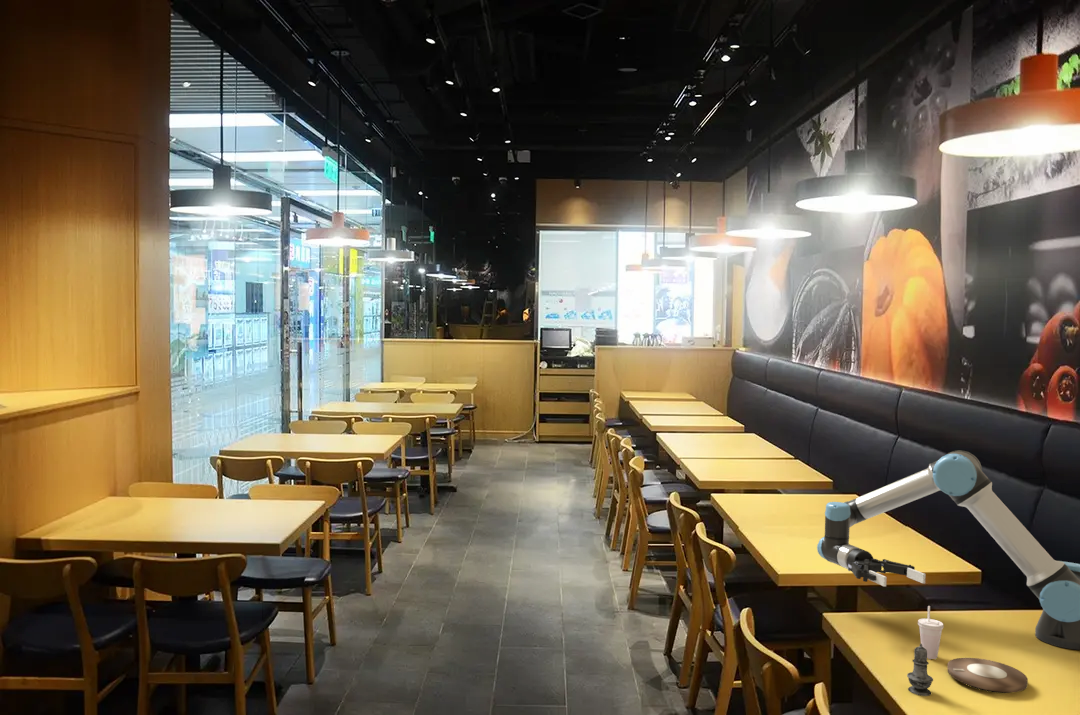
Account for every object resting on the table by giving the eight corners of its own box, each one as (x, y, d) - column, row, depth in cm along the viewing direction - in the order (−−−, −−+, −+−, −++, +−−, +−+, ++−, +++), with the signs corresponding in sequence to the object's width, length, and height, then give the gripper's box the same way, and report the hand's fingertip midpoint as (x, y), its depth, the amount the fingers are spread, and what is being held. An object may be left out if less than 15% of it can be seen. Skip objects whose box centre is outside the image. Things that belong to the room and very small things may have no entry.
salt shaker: (935, 697, 196) (937, 648, 196) (910, 695, 197) (911, 646, 197) (929, 687, 202) (930, 640, 202) (904, 685, 203) (905, 638, 203)
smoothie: (920, 650, 226) (921, 601, 226) (945, 656, 222) (946, 606, 222) (914, 657, 221) (915, 606, 221) (939, 663, 217) (941, 612, 217)
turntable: (1004, 664, 215) (1004, 658, 215) (1042, 693, 197) (1042, 687, 197) (935, 661, 216) (935, 655, 216) (967, 690, 198) (967, 684, 198)
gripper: (888, 569, 255) (939, 590, 235) (821, 574, 248) (868, 596, 228) (889, 546, 255) (940, 564, 234) (822, 549, 248) (869, 569, 227)
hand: (905, 580), depth 231 cm, fingers open, 13 cm apart
